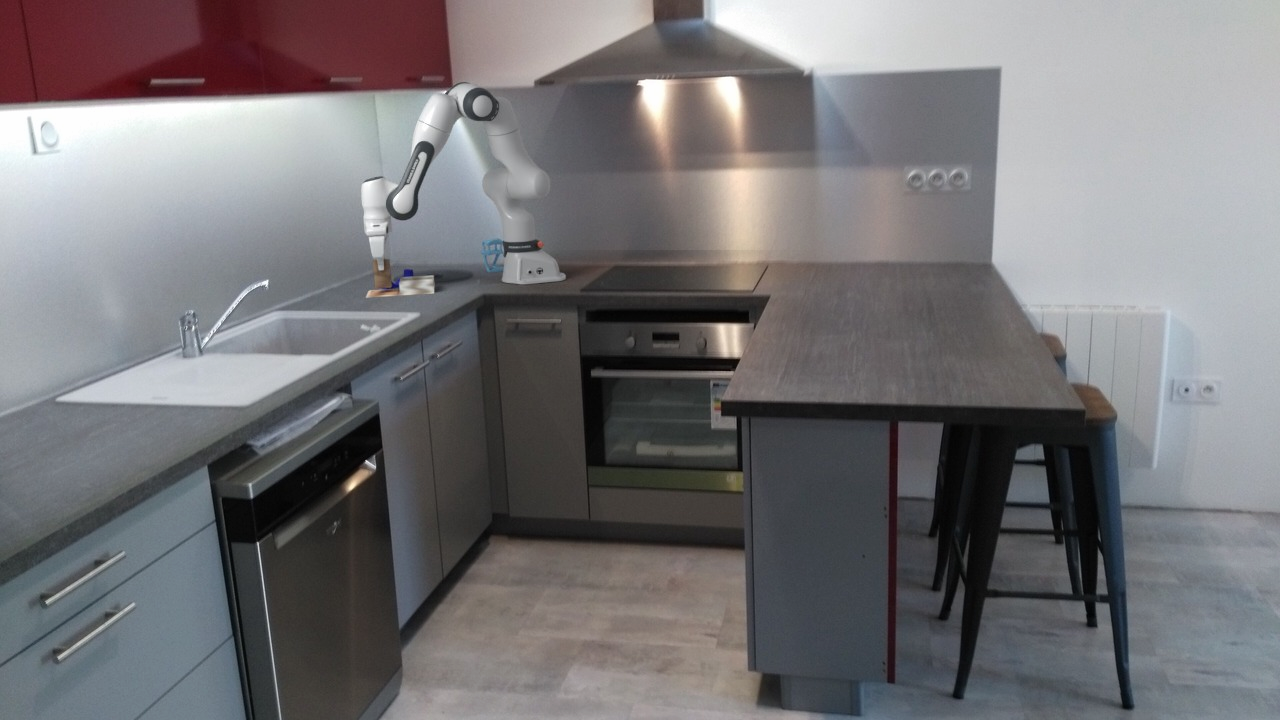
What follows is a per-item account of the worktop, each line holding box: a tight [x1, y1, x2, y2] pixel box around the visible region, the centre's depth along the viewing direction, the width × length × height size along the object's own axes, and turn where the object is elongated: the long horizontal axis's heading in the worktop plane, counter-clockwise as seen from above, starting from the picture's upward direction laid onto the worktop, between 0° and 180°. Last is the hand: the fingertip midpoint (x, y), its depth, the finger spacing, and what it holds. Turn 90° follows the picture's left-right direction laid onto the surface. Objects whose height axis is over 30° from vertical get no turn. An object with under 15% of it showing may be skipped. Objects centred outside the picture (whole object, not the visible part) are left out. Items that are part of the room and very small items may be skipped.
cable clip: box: [381, 268, 414, 290], centre depth 366 cm, size 12×4×6 cm, turn 144°
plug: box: [372, 258, 393, 289], centre depth 352 cm, size 5×3×9 cm, turn 99°
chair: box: [480, 238, 504, 273], centre depth 396 cm, size 8×8×12 cm
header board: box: [365, 274, 436, 299], centre depth 354 cm, size 22×13×5 cm, turn 99°
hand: (382, 268), depth 352 cm, fingers closed on plug, 3 cm apart
